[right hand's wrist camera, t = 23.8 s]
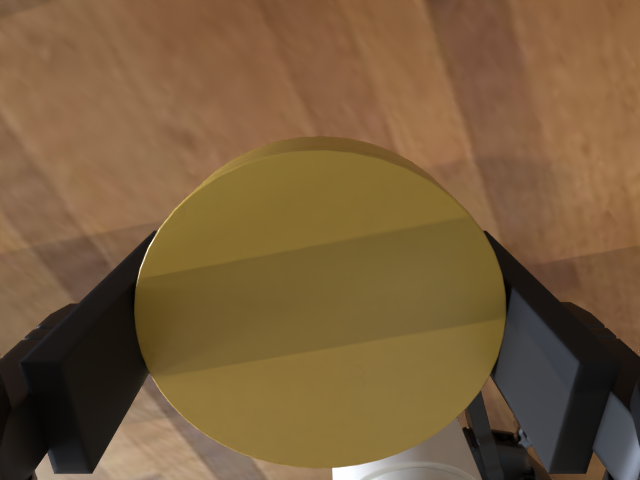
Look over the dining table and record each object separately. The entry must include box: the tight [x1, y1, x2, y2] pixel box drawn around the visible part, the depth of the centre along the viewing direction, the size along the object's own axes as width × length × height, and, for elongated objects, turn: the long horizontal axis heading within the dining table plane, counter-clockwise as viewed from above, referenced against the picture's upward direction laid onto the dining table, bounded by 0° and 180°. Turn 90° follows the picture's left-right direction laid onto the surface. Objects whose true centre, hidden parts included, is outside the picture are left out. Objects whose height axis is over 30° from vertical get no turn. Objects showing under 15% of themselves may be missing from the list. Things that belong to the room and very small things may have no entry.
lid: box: [134, 136, 506, 468], centre depth 11 cm, size 9×9×2 cm
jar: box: [332, 418, 482, 480], centre depth 29 cm, size 8×8×18 cm
